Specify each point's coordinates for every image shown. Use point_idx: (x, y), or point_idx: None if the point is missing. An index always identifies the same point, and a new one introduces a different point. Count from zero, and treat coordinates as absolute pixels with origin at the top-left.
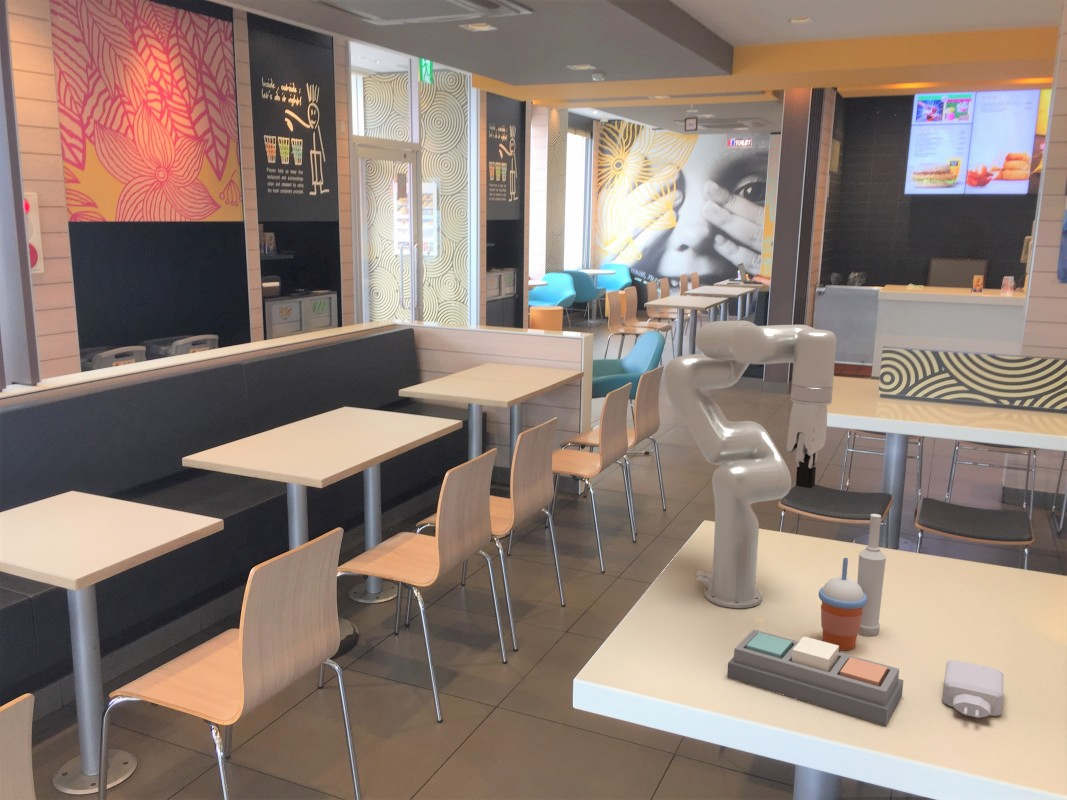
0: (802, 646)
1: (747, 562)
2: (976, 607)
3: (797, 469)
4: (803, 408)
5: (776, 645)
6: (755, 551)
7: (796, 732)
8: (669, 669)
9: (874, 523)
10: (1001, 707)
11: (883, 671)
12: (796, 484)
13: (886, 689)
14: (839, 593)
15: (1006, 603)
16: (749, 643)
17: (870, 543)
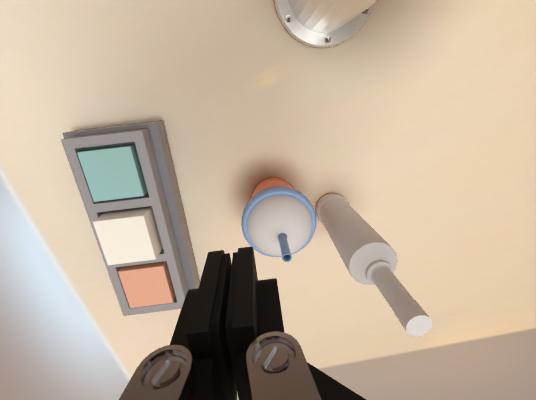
0: (113, 227)
1: (323, 4)
2: (476, 275)
3: (190, 318)
4: None
5: (113, 185)
6: (354, 6)
7: (44, 244)
8: (22, 51)
9: (397, 314)
10: None
11: (159, 303)
12: (208, 255)
13: (128, 314)
14: (251, 235)
15: (505, 294)
16: (85, 153)
17: (375, 278)
